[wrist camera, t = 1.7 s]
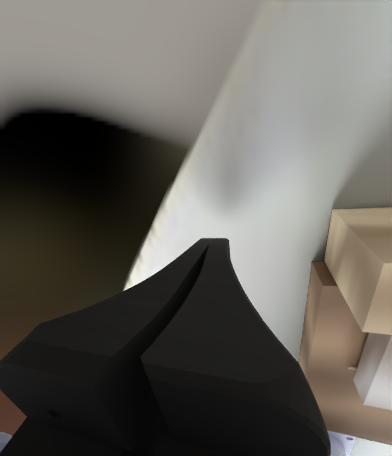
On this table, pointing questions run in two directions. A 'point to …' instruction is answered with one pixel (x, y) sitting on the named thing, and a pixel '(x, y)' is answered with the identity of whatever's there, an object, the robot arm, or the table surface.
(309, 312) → the oak board
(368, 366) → the beige block
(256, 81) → the table surface
